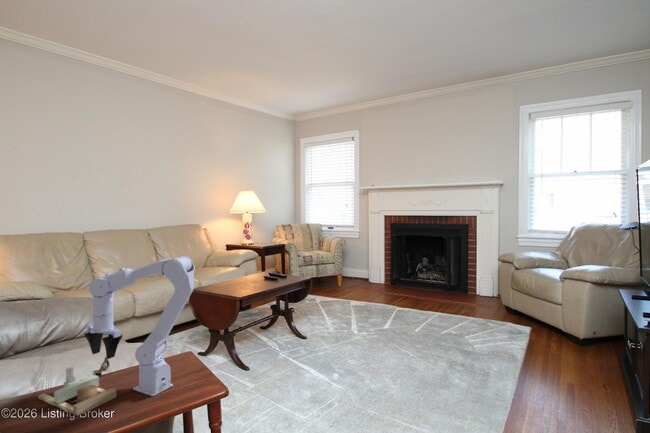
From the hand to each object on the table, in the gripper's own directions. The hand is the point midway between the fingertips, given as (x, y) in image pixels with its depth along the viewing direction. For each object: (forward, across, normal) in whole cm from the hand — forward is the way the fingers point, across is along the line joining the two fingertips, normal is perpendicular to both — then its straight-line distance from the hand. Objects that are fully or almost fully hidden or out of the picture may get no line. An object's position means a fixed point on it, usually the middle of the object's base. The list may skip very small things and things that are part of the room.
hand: (103, 355), depth 120 cm
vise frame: (+10, 0, -8) cm, 13 cm away
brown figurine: (+11, -11, +7) cm, 17 cm away
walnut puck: (+10, +5, -8) cm, 14 cm away
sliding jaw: (+9, -2, -8) cm, 12 cm away
